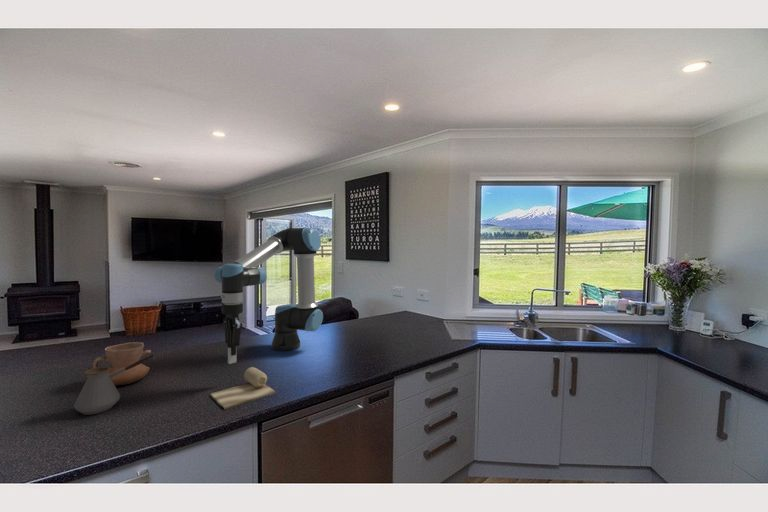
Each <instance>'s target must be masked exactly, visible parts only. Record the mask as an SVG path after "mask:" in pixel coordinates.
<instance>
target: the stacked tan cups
mask: <svg viewBox="0 0 768 512" xmlns="http://www.w3.org/2000/svg"><path fill="white" fill-rule="evenodd" d="M144 347H145V344H144V342H139V341H136V342H135V341H134V342H125V343H120V344H115V345H109V346H106V347H105V348H104V353H105V356H99V357H97V358H95V359H94V361H93V362H92V369H93V368H98V367H99V365H98V364H99V362H101V361H103V362H106V363H108V364H109V365H110V366H111V367H110V368H111V369H110V370H109V373H108V375H109V376H110V375H112V374H114V373H116V372H118V371H120V370H123V369H125V368H126V367H128V366H130V365H132V364H134V363H135V362H137V361H140V359H141V357H142V356H143V355H146V354H149V355H151V352H152V350H151V349H146V350H144ZM149 371H150V367H149V366H147V365H145V364H143V363H141V364H139V365H137V366H135V367H133V368H130V369H128V370H126V371H124V372H122V373H120V374H118V375H116V376H114V377H112V378H110V379H111V380H112V382H113V384H114V385H115V387H116V386H123V385H130V384H132V383H135V382H138V381H140V380H141V379H143V378H144V377H145V376H147V374H148V373H149Z"/></svg>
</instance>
